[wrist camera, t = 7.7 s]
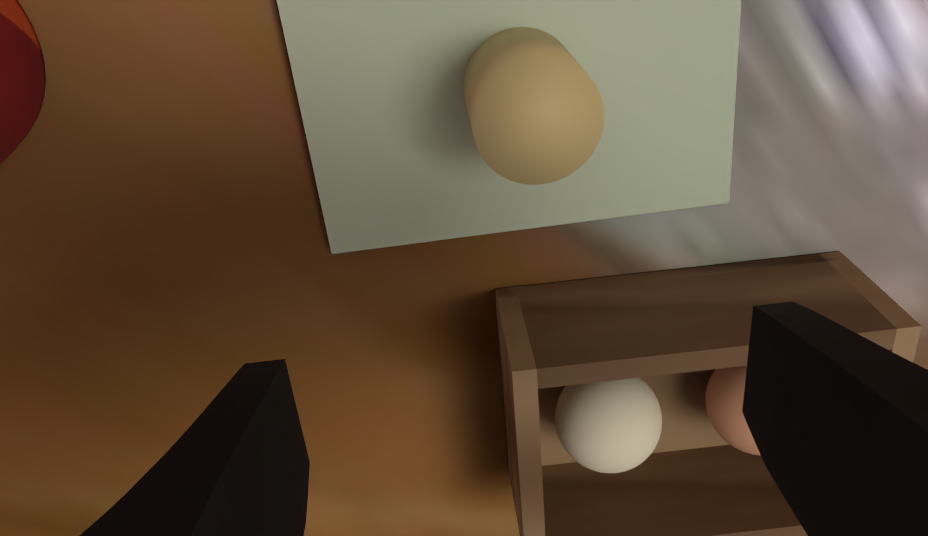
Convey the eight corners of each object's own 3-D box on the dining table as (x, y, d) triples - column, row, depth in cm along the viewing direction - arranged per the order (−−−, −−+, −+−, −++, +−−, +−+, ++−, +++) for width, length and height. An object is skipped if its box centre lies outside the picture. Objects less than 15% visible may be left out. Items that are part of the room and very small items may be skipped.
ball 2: (783, 404, 24) (829, 472, 22) (688, 415, 24) (723, 484, 21) (794, 324, 23) (846, 385, 20) (694, 335, 23) (731, 398, 20)
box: (809, 438, 26) (873, 531, 22) (509, 472, 25) (526, 571, 22) (839, 251, 22) (921, 326, 19) (494, 288, 22) (511, 371, 19)
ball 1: (644, 420, 24) (673, 489, 21) (549, 430, 24) (566, 502, 21) (647, 340, 23) (678, 404, 20) (545, 351, 23) (564, 417, 20)
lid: (716, 188, 22) (776, 253, 18) (334, 238, 22) (321, 312, 18) (731, -120, 18) (810, -114, 14) (270, -63, 18) (238, -42, 14)
